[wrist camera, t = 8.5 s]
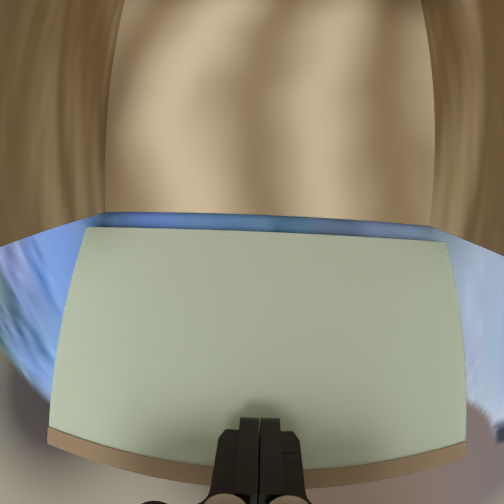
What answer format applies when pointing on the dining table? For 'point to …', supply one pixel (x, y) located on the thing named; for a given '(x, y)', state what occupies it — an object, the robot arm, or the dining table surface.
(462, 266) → the dining table surface
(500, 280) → the dining table surface
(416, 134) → the crate
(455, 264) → the dining table surface
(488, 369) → the dining table surface
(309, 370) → the panel
